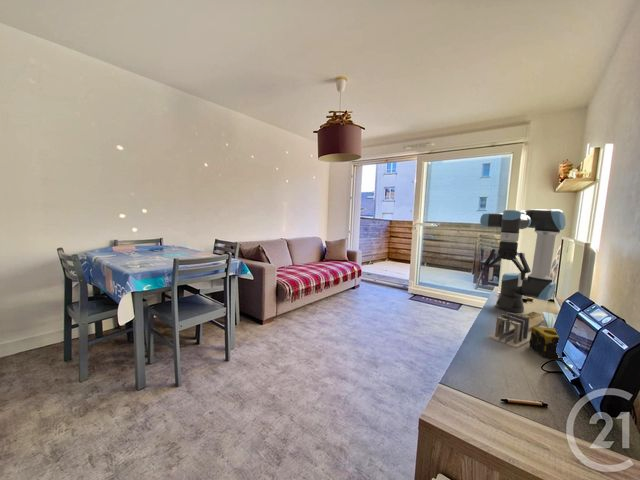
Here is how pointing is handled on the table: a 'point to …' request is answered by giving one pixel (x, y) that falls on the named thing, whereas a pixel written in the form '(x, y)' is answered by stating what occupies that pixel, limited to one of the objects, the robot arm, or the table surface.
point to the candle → (544, 341)
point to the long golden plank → (533, 319)
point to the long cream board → (509, 336)
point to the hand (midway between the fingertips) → (504, 282)
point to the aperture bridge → (517, 325)
